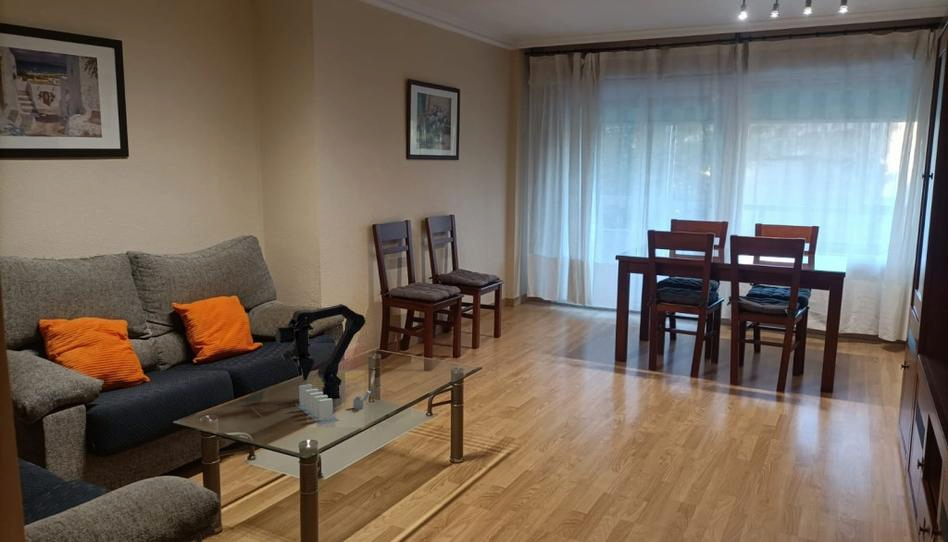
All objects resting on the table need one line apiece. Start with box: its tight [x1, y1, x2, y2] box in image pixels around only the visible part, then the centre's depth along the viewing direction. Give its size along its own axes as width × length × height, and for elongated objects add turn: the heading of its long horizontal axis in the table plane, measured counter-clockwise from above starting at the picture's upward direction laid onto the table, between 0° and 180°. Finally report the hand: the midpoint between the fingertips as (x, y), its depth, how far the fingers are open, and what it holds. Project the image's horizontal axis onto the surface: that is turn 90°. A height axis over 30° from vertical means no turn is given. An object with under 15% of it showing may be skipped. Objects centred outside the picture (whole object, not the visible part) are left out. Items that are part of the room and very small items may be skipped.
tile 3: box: [314, 395, 328, 417], centre depth 279 cm, size 2×5×8 cm, turn 123°
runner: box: [294, 402, 340, 425], centre depth 284 cm, size 30×8×1 cm, turn 33°
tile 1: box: [305, 388, 320, 410], centre depth 288 cm, size 2×5×8 cm, turn 122°
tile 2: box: [310, 391, 323, 414], centre depth 283 cm, size 2×5×8 cm, turn 123°
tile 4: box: [319, 398, 334, 421], centre depth 275 cm, size 2×5×8 cm, turn 122°
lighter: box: [352, 389, 372, 410], centre depth 289 cm, size 7×2×8 cm, turn 82°
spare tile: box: [298, 383, 313, 405], centre depth 294 cm, size 2×5×8 cm, turn 123°
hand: (302, 377), depth 296 cm, fingers open, 9 cm apart
